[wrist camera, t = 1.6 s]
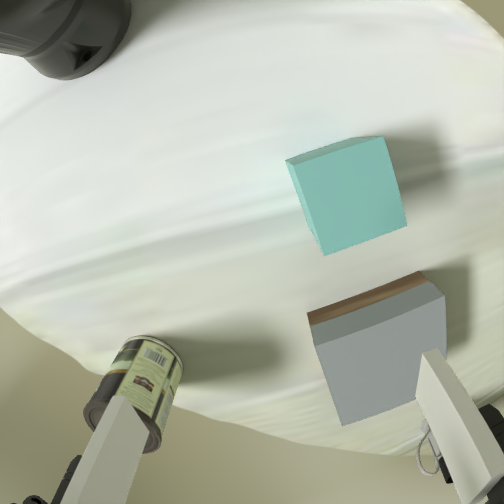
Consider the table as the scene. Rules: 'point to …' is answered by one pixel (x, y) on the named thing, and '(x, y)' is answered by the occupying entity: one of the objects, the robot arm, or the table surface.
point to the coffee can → (140, 385)
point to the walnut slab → (366, 298)
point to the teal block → (348, 192)
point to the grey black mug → (436, 451)
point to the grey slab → (380, 351)
